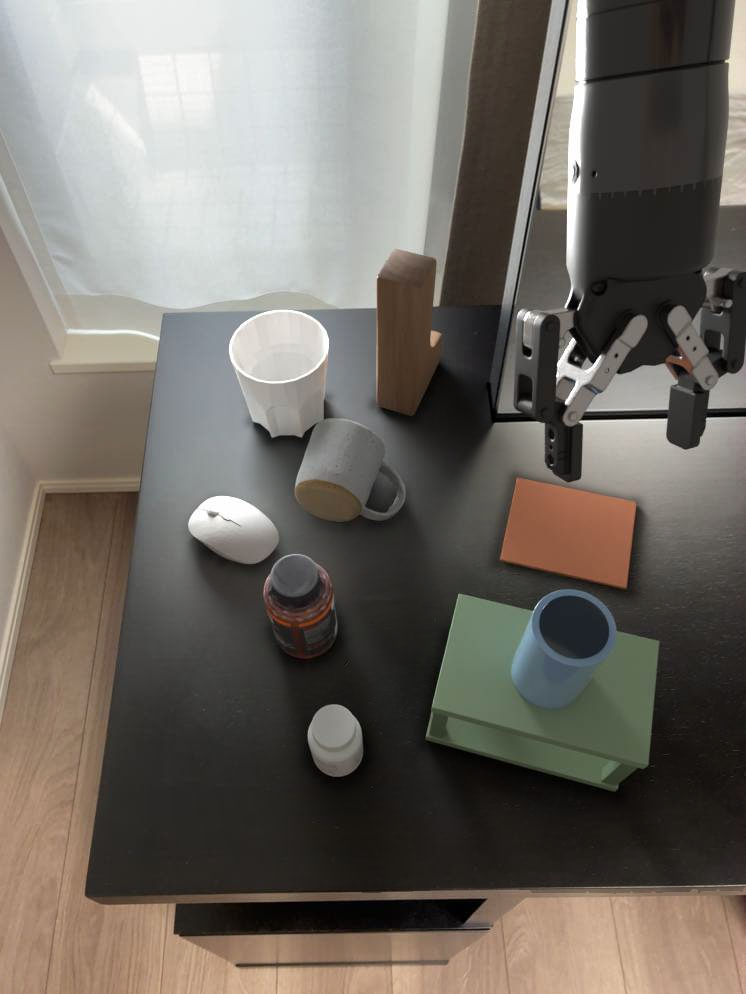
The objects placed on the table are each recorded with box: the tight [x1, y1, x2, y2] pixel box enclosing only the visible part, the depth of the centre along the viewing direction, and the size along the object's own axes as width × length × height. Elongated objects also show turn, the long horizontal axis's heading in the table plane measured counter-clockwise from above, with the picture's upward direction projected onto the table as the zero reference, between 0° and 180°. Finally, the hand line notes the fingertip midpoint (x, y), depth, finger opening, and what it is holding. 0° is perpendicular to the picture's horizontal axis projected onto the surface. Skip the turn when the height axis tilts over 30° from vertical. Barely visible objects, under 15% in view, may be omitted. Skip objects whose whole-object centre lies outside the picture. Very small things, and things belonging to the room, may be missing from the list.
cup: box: [228, 309, 330, 439], centre depth 80 cm, size 10×10×10 cm
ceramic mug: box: [294, 417, 407, 523], centre depth 75 cm, size 11×8×8 cm
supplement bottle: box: [263, 553, 338, 659], centre depth 66 cm, size 6×6×11 cm
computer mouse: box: [187, 495, 280, 565], centre depth 75 cm, size 6×10×3 cm, turn 55°
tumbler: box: [511, 588, 618, 709], centre depth 54 cm, size 6×6×9 cm
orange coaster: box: [499, 477, 637, 591], centre depth 75 cm, size 12×10×1 cm
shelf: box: [425, 593, 660, 792], centre depth 62 cm, size 16×10×9 cm, turn 74°
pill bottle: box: [307, 704, 364, 778], centre depth 61 cm, size 4×4×8 cm
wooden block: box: [375, 248, 443, 417], centre depth 78 cm, size 9×4×18 cm, turn 157°
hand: (625, 460), depth 47 cm, fingers open, 8 cm apart
